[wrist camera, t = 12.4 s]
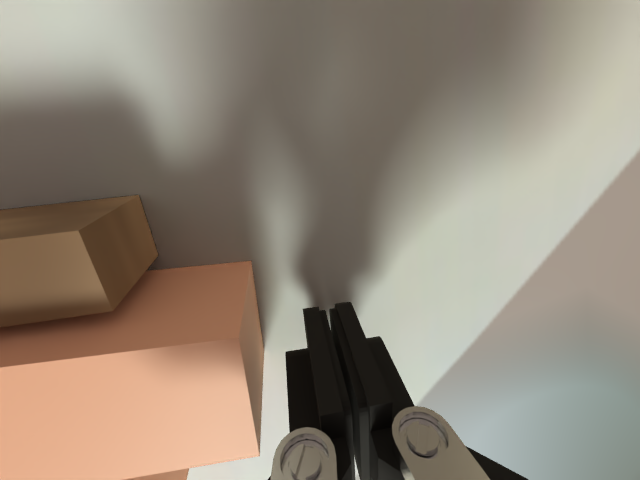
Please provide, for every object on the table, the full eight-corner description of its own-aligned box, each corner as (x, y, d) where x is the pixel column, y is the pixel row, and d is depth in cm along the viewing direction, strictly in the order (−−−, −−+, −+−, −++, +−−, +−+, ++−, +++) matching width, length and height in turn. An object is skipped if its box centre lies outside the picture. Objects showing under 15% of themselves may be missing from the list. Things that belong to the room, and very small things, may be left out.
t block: (-8, 500, 13) (-123, 656, 9) (-160, 299, 9) (-468, 426, 5) (278, 451, 14) (279, 569, 10) (251, 260, 10) (238, 337, 7)
